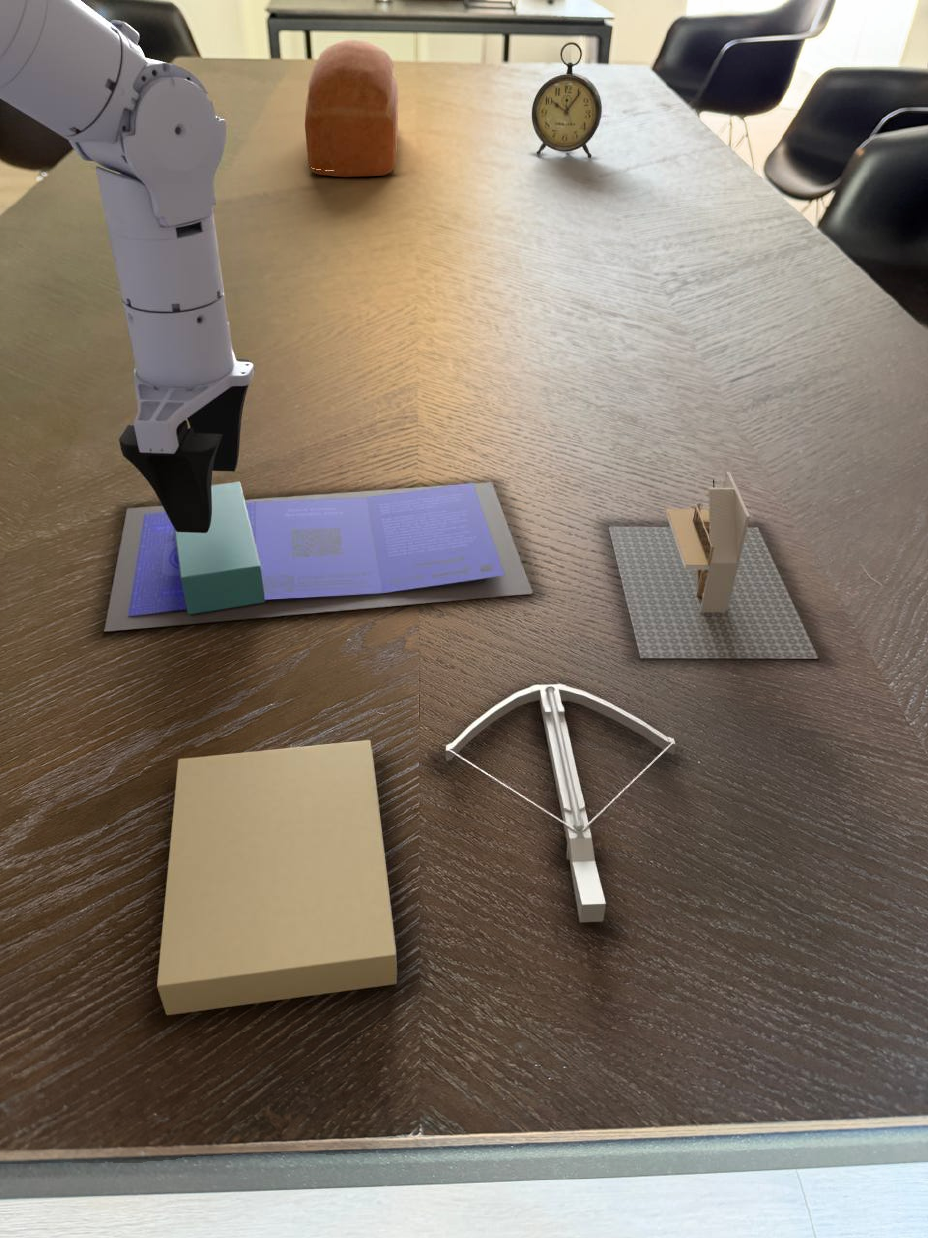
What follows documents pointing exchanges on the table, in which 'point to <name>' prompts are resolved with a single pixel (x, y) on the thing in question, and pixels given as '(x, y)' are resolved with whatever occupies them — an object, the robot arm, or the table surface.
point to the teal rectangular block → (221, 557)
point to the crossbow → (568, 777)
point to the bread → (352, 111)
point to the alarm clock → (566, 110)
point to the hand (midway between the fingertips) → (207, 497)
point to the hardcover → (275, 879)
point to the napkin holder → (707, 586)
